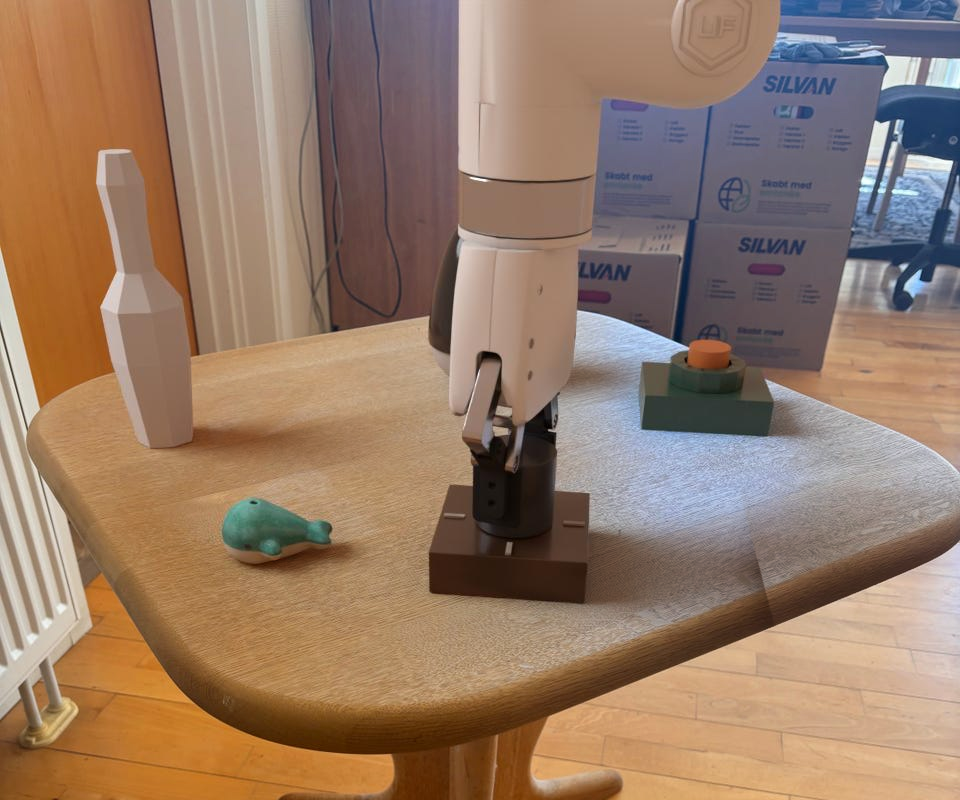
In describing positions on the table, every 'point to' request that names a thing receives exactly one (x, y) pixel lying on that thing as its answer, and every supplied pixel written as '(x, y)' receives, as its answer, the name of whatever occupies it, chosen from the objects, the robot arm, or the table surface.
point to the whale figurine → (270, 532)
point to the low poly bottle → (143, 313)
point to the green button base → (704, 398)
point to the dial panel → (511, 553)
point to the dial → (532, 489)
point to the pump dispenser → (444, 303)
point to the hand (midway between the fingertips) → (514, 500)
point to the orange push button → (709, 354)
